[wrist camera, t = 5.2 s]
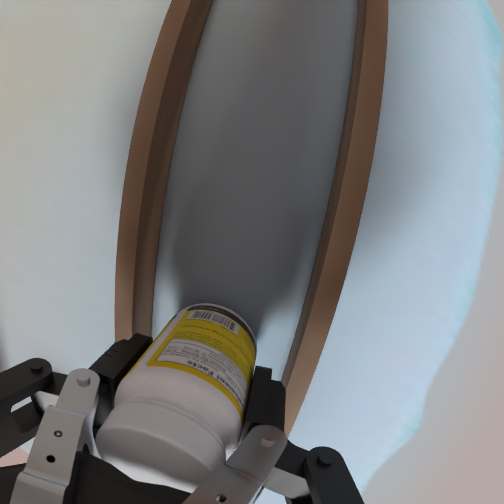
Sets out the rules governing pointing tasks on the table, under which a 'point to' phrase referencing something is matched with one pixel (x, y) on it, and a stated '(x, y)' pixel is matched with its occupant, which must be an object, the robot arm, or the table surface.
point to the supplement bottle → (182, 400)
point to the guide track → (157, 169)
